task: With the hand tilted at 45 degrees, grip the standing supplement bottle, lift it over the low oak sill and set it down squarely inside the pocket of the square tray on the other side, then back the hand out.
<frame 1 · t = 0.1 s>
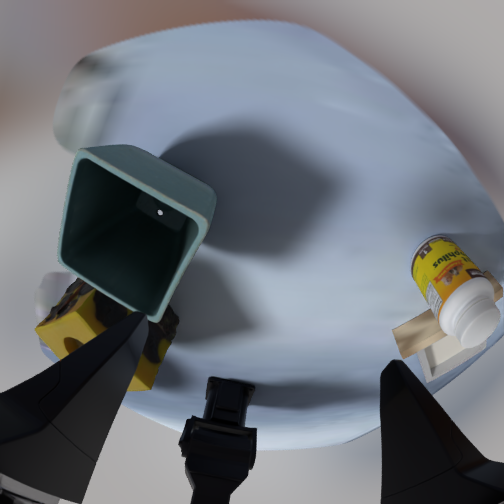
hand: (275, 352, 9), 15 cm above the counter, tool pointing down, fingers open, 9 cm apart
flower pot: (170, 195, 22), on the counter
yellow and black cube: (127, 296, 29), on the counter
supplement bottle: (430, 257, 22), on the counter
oak sill: (444, 304, 25), on the counter
square tray: (450, 338, 27), on the counter
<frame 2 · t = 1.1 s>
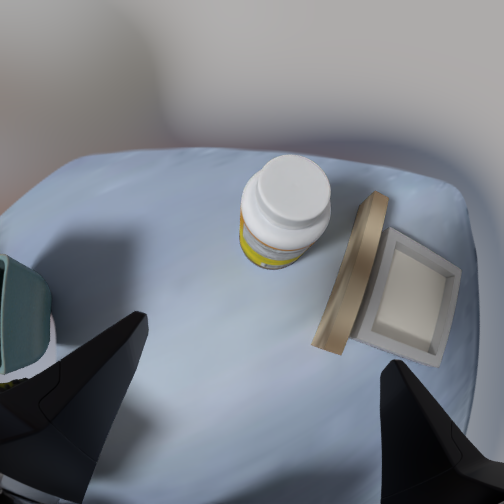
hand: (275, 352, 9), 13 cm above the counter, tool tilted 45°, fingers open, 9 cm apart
flower pot: (36, 314, 20), on the counter
supplement bottle: (270, 240, 24), on the counter
oak sill: (346, 273, 23), on the counter
square tray: (407, 302, 23), on the counter
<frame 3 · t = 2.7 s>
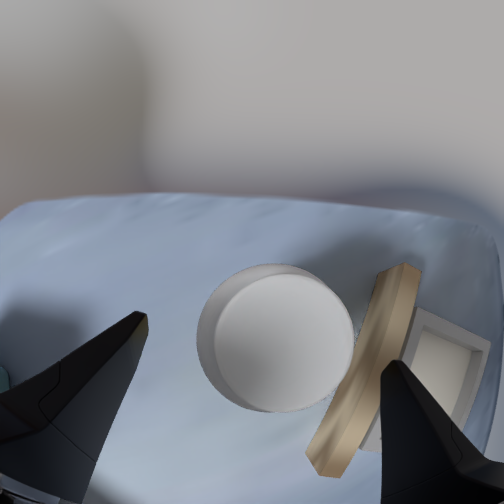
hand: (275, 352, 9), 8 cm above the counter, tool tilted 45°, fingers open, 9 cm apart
supplement bottle: (256, 332, 17), on the counter
oak sill: (355, 368, 16), on the counter
square tray: (426, 389, 16), on the counter
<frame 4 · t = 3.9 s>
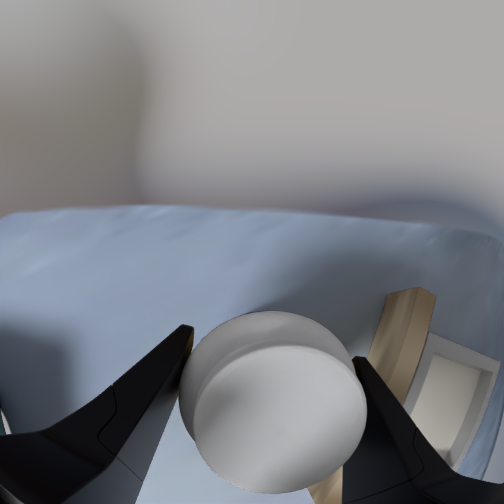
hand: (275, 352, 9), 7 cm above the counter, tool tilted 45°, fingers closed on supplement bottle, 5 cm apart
supplement bottle: (252, 361, 15), on the counter, touching gripper
oak sill: (360, 397, 14), on the counter
square tray: (432, 413, 14), on the counter
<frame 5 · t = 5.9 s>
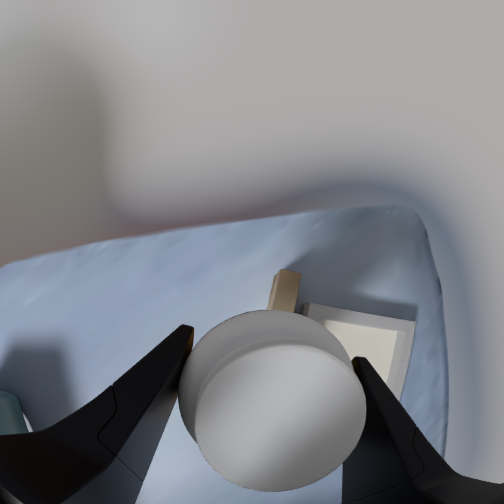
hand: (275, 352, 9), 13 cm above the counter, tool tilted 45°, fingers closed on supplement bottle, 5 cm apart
flower pot: (14, 413, 17), on the counter
supplement bottle: (250, 360, 15), point 6 cm above the counter, touching gripper
oak sill: (264, 360, 21), on the counter
square tray: (346, 371, 21), on the counter
when the fingers open (8 cm above the counter, at t = 8.3 s): supplement bottle stays where it is, resting on square tray.
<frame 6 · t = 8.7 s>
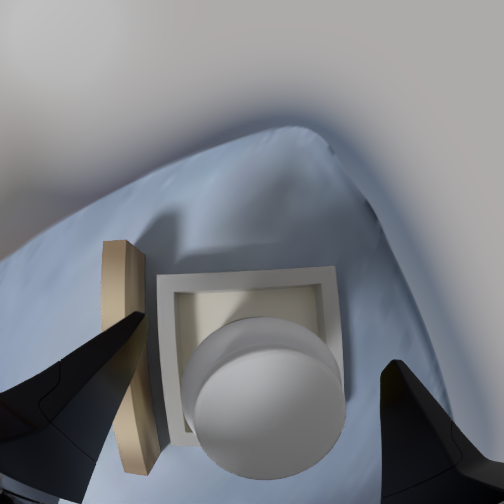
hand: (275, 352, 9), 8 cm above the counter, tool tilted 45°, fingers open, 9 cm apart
supplement bottle: (249, 362, 16), resting on square tray
oak sill: (137, 359, 15), on the counter
square tray: (251, 358, 16), on the counter
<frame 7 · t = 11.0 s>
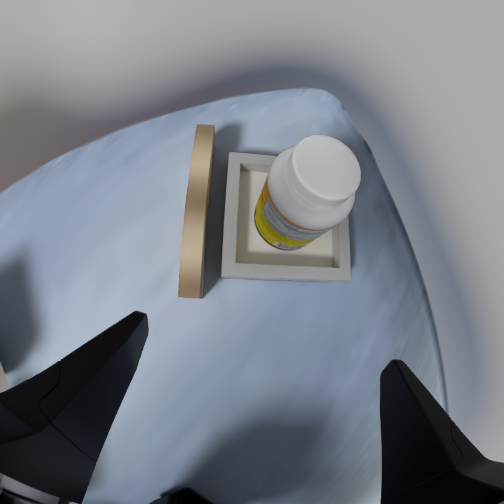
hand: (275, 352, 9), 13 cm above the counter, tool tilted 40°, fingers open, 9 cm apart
supplement bottle: (283, 221, 23), resting on square tray
oak sill: (199, 215, 23), on the counter
square tray: (284, 220, 24), on the counter
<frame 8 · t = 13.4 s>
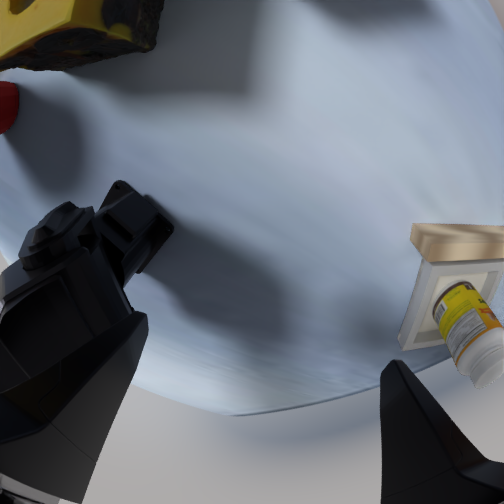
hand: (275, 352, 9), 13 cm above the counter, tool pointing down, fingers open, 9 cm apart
yellow and black cube: (113, 10, 12), on the counter
supplement bottle: (450, 297, 22), resting on square tray
plastic cup: (7, 104, 16), on the counter
oak sill: (470, 232, 19), on the counter
square tray: (450, 296, 22), on the counter
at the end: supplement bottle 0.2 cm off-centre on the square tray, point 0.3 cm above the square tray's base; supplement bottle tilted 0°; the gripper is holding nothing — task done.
